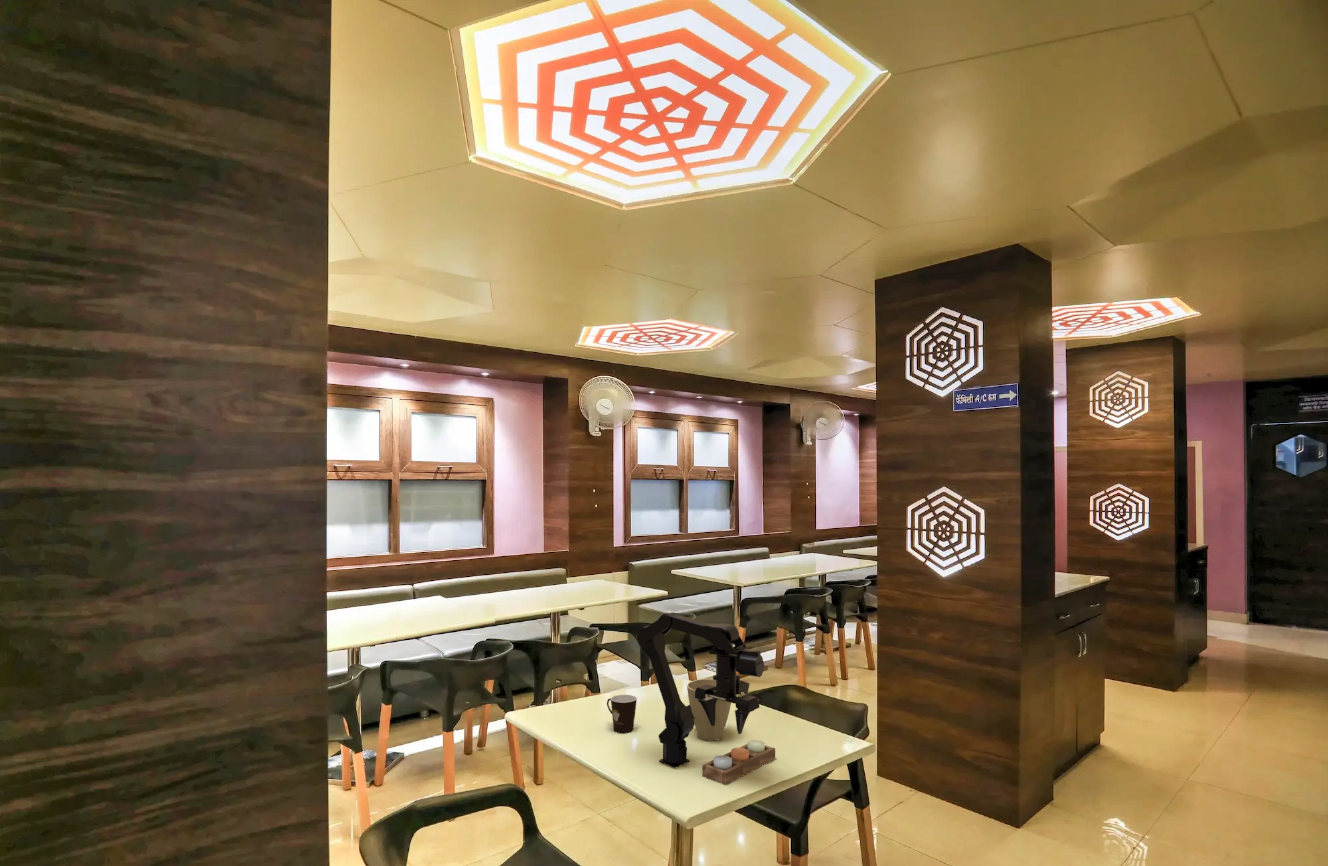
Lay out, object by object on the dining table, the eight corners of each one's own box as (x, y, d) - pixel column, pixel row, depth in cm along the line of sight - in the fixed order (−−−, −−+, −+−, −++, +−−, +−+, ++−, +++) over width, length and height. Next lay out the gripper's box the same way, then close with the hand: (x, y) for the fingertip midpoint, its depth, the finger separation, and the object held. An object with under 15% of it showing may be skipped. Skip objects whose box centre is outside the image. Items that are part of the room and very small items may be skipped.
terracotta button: (727, 762, 185) (727, 751, 185) (738, 757, 189) (737, 746, 189) (742, 767, 182) (741, 755, 182) (752, 761, 185) (752, 750, 186)
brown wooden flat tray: (702, 776, 179) (702, 765, 179) (752, 751, 197) (752, 741, 197) (725, 785, 174) (725, 773, 174) (775, 759, 191) (775, 748, 191)
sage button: (744, 754, 191) (744, 743, 191) (753, 749, 195) (753, 738, 195) (758, 758, 188) (758, 747, 188) (768, 753, 191) (767, 743, 191)
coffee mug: (640, 732, 212) (640, 700, 213) (614, 736, 209) (615, 703, 210) (628, 721, 223) (629, 691, 224) (604, 724, 220) (604, 693, 221)
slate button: (710, 770, 179) (709, 759, 179) (721, 765, 183) (721, 754, 183) (724, 775, 176) (724, 764, 176) (735, 770, 179) (735, 758, 180)
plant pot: (678, 740, 206) (679, 687, 207) (698, 725, 219) (698, 676, 220) (722, 749, 199) (722, 694, 200) (740, 733, 212) (740, 682, 213)
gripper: (770, 672, 182) (770, 730, 181) (717, 660, 195) (717, 715, 193) (747, 680, 174) (747, 741, 173) (693, 667, 187) (693, 724, 185)
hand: (726, 729), depth 181 cm, fingers open, 9 cm apart
